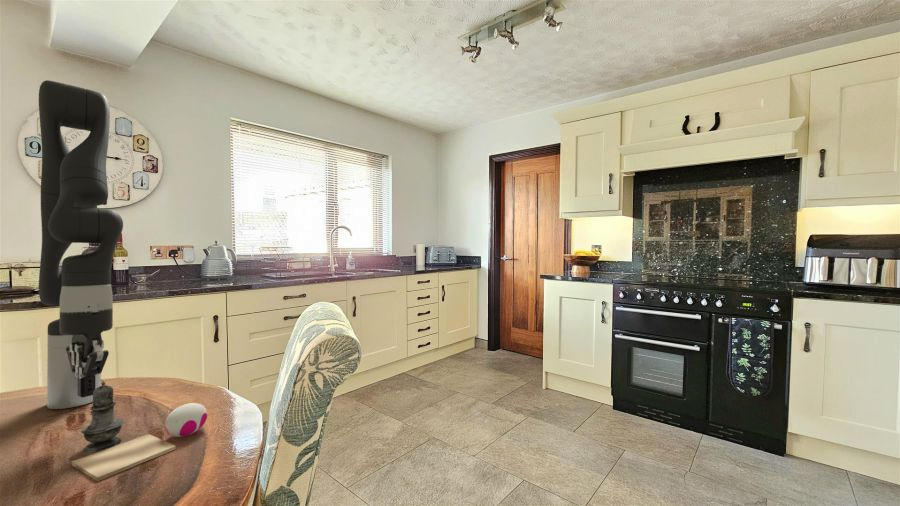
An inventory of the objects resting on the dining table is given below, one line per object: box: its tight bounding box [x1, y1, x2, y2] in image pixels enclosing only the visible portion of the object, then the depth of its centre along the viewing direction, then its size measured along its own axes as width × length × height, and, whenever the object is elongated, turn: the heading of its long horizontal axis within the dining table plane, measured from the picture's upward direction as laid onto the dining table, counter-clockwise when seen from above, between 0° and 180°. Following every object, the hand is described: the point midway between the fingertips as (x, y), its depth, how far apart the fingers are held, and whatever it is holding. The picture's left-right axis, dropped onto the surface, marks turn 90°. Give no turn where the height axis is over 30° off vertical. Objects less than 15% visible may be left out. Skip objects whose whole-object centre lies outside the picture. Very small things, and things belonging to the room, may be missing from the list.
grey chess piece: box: [80, 381, 125, 453], centre depth 70 cm, size 6×6×12 cm
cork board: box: [71, 433, 177, 482], centre depth 65 cm, size 10×11×1 cm
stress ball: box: [164, 402, 208, 438], centre depth 74 cm, size 8×8×7 cm
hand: (86, 395), depth 73 cm, fingers closed
